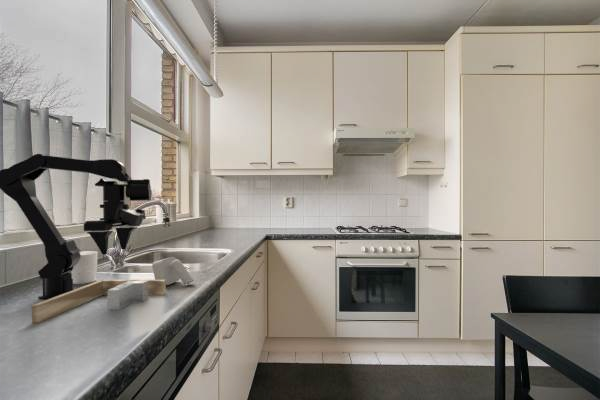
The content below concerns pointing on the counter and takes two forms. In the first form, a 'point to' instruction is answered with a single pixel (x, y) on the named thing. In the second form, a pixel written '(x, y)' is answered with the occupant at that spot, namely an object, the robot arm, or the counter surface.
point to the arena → (85, 297)
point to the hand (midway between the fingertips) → (114, 251)
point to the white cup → (85, 268)
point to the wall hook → (171, 271)
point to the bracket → (127, 294)
